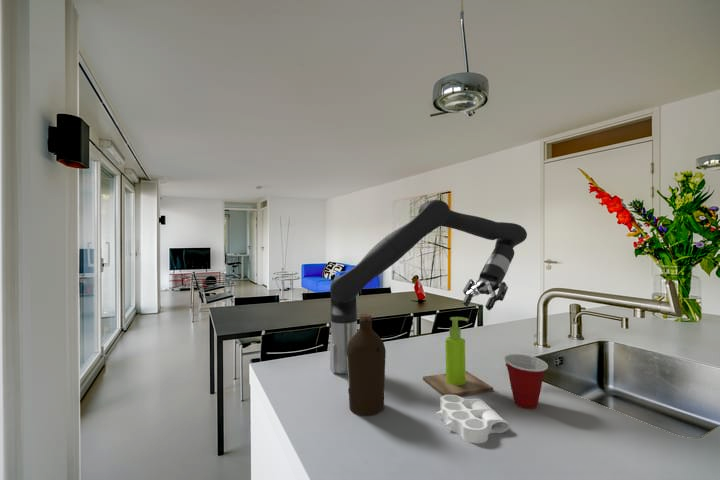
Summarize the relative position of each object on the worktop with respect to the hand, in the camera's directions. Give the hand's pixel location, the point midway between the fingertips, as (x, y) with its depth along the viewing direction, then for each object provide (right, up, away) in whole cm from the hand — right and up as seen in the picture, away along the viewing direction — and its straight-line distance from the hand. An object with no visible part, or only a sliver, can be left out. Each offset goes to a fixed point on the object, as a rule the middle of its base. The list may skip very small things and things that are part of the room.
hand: (476, 306), depth 113 cm
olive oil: (-37, -24, -20) cm, 48 cm away
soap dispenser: (-8, -22, -6) cm, 25 cm away
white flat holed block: (-12, -24, -28) cm, 39 cm away
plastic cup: (+7, -23, -20) cm, 31 cm away
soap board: (-8, -23, -6) cm, 25 cm away
